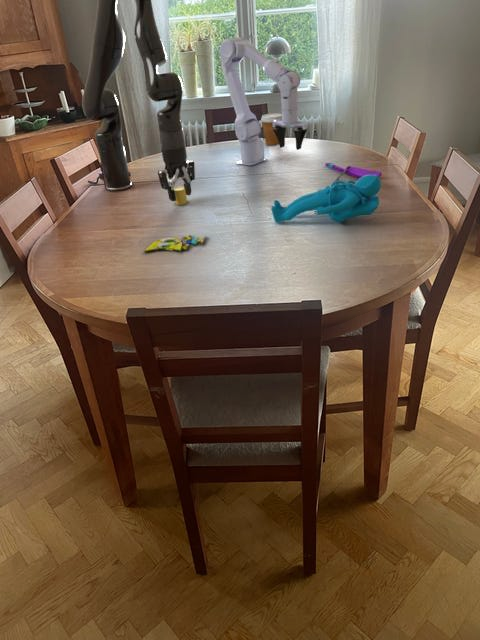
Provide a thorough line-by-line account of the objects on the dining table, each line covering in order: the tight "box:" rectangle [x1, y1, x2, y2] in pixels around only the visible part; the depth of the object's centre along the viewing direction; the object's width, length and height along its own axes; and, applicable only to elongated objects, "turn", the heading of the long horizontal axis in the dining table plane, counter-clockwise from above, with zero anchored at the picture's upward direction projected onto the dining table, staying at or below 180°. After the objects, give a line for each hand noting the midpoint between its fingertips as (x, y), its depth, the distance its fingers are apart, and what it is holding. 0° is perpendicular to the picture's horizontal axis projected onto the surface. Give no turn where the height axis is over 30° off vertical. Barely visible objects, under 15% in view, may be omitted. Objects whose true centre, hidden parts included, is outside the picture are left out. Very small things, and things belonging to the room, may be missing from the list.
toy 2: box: [270, 175, 382, 224], centre depth 134 cm, size 17×11×30 cm
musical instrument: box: [324, 162, 382, 185], centre depth 168 cm, size 24×2×20 cm
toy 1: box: [144, 234, 207, 254], centre depth 130 cm, size 10×1×15 cm
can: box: [174, 186, 188, 206], centre depth 158 cm, size 4×4×5 cm
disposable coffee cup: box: [260, 112, 282, 146], centre depth 214 cm, size 10×10×12 cm
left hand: (180, 197), depth 158 cm, fingers open, 6 cm apart
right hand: (290, 148), depth 181 cm, fingers open, 7 cm apart
